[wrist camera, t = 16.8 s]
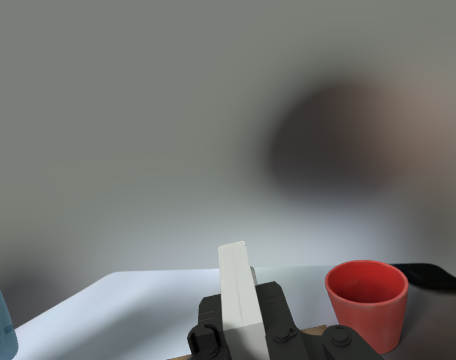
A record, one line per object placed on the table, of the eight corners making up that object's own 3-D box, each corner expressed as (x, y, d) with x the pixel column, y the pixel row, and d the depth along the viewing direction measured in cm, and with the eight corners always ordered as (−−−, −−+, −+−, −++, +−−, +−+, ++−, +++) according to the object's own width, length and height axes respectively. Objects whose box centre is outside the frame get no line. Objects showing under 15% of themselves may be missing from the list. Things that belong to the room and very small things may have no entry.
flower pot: (337, 305, 55) (330, 256, 52) (410, 314, 50) (407, 261, 47) (327, 354, 46) (318, 299, 44) (414, 372, 41) (410, 310, 38)
